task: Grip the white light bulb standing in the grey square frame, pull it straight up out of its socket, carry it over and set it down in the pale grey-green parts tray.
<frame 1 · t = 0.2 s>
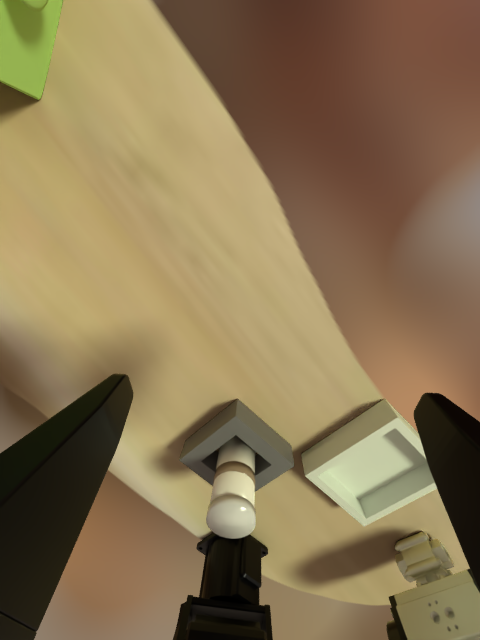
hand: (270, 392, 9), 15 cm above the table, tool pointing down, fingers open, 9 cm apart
parts tray: (369, 454, 28), on the table
white light bulb: (237, 442, 29), resting in grey square frame
grey square frame: (237, 443, 29), on the table
pneumatic valve: (412, 539, 32), on the table
gearbox: (12, 4, 18), on the table
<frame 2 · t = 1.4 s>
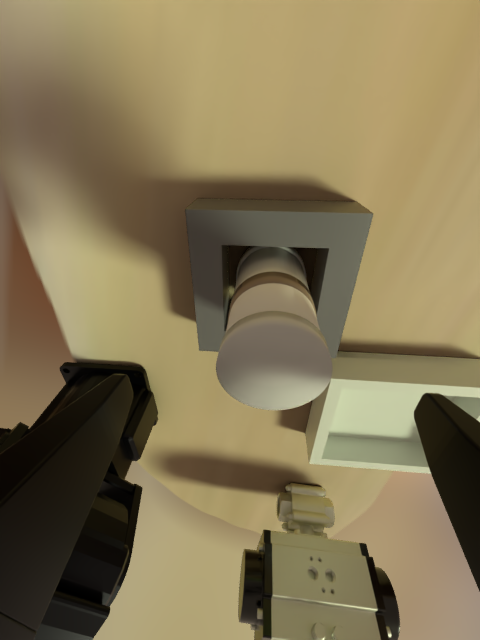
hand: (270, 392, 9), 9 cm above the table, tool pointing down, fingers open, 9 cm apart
parts tray: (382, 401, 21), on the table
white light bulb: (270, 273, 16), resting in grey square frame
grey square frame: (270, 273, 16), on the table
pneumatic valve: (303, 487, 29), on the table
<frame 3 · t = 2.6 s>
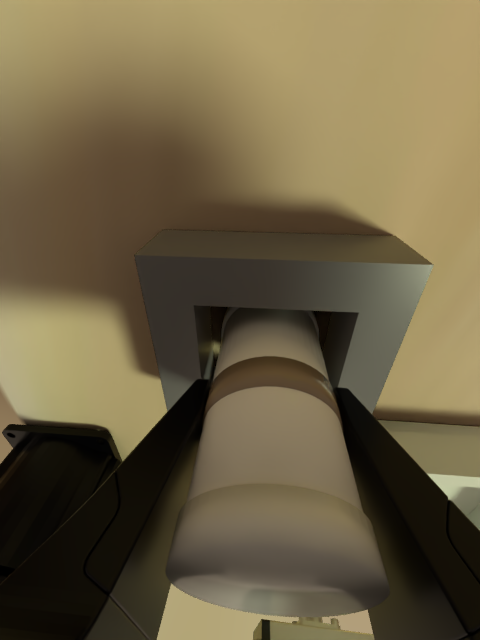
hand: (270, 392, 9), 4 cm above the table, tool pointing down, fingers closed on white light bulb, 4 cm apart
parts tray: (410, 472, 16), on the table
white light bulb: (269, 327, 11), resting in grey square frame, touching gripper
grey square frame: (268, 327, 11), on the table
pneumatic valve: (308, 550, 25), on the table
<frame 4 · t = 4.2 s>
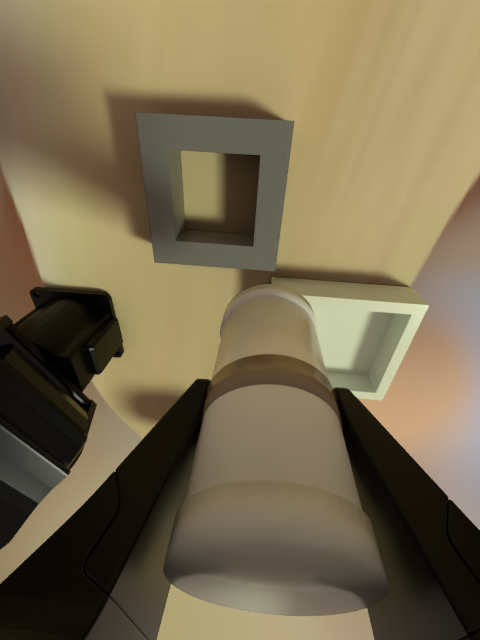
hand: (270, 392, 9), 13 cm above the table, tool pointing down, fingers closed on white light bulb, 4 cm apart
parts tray: (327, 332, 23), on the table
white light bulb: (268, 325, 11), point 10 cm above the table, touching gripper
grey square frame: (220, 194, 18), on the table
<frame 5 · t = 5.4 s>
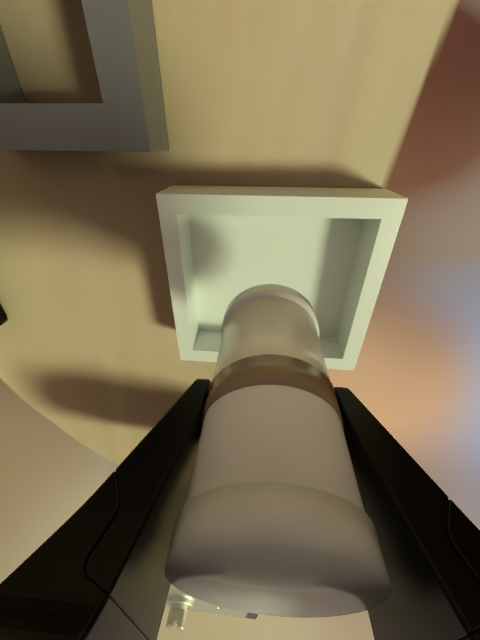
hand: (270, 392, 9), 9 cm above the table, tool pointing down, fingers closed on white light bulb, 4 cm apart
parts tray: (270, 274, 16), on the table
white light bulb: (269, 325, 11), point 5 cm above the table, touching gripper
grey square frame: (59, 33, 11), on the table
pneumatic valve: (213, 420, 24), on the table
when the fingers open (6 cm above the table, at t = 6.2 s): white light bulb drops 2 cm, resting on parts tray.
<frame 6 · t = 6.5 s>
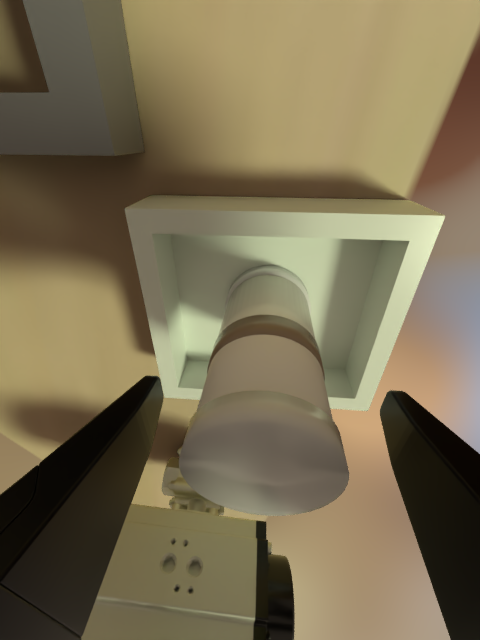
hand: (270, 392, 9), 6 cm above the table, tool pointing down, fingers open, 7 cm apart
parts tray: (269, 298, 14), on the table
white light bulb: (267, 303, 13), point 1 cm above the table, touching parts tray
pneumatic valve: (206, 451, 22), on the table
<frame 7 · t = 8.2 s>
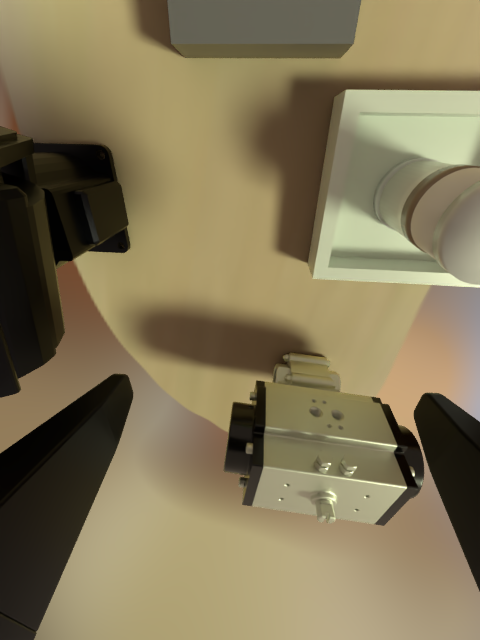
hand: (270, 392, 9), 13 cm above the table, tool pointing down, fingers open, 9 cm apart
parts tray: (404, 195, 17), on the table
white light bulb: (407, 195, 16), point 1 cm above the table, touching parts tray
pneumatic valve: (303, 362, 25), on the table
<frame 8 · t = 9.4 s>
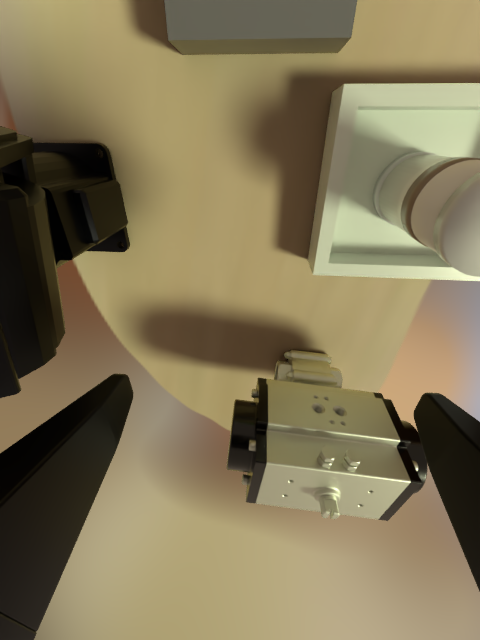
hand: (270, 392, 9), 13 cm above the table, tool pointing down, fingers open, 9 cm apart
parts tray: (403, 189, 17), on the table
white light bulb: (406, 189, 16), point 1 cm above the table, touching parts tray
pneumatic valve: (305, 359, 25), on the table
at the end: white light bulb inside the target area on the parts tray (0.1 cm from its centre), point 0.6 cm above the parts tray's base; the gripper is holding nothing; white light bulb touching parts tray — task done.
